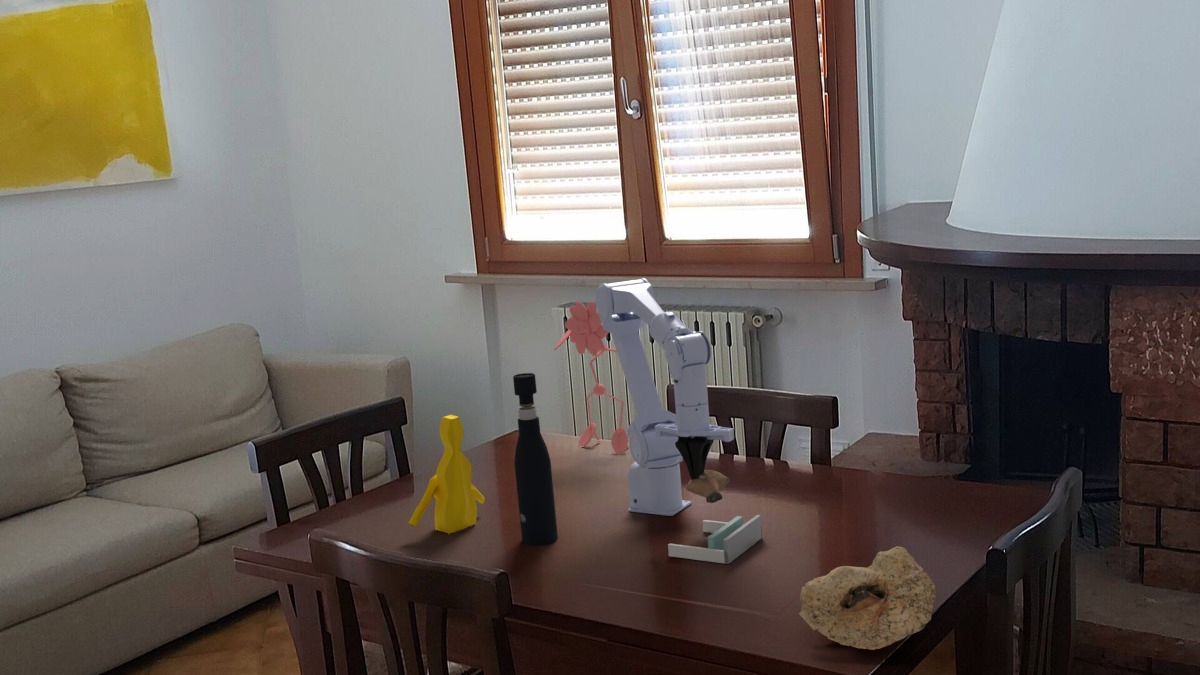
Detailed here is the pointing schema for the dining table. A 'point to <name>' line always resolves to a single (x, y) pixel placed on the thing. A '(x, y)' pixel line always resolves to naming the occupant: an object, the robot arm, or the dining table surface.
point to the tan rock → (870, 601)
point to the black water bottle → (533, 470)
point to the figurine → (588, 335)
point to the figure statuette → (451, 484)
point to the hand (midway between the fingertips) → (697, 478)
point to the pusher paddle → (724, 533)
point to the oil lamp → (708, 485)
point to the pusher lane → (731, 544)
